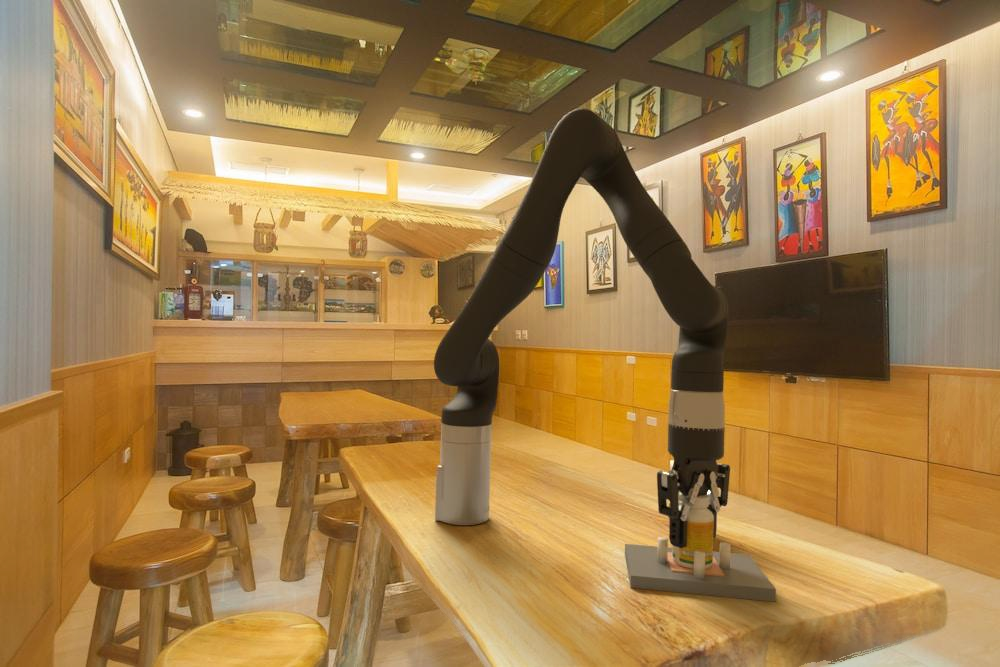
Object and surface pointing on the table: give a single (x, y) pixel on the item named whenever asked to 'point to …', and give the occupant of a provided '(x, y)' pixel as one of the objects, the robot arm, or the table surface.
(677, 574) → the pin tray
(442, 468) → the robot arm
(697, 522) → the supplement bottle
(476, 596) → the table surface
